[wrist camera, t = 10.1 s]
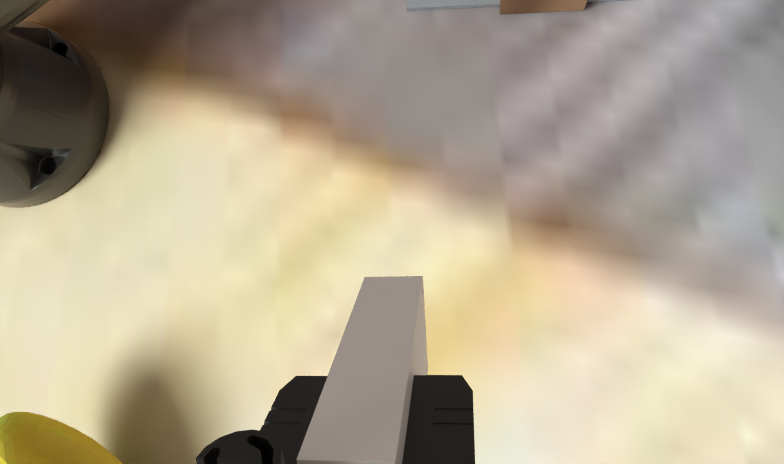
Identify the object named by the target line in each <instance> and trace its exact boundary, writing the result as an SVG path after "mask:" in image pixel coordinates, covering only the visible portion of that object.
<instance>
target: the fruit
mask: <svg viewBox="0 0 784 464" xmlns="http://www.w3.org/2000/svg"><path fill="white" fill-rule="evenodd" d="M0 464H123V463H122V462H121V461H120V460H118V459H117V458H116V457H115V456H114V455H113V454H112V453H111V452H109V451H108V450H107V449H106V448H104V447H103V446H101V445H100V444H99V443H97V442H96V441H95V440H93V439H92V438H90V437H88V436H87V435H85V434H83V433H81V432H80V431H78V430H76V429H74V428H72V427H70V426H68V425H66V424H64V423H61V422H59V421H57V420H54V419H51V418H48V417H45V416H42V415H38V414H34V413H29V412H13V413H9V414H6V415H4V416H2V417H0Z"/></svg>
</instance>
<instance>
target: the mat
mask: <svg viewBox="0 0 784 464" xmlns="http://www.w3.org/2000/svg"><path fill="white" fill-rule="evenodd" d="M600 1H621V0H587V2H600ZM497 6H500V0H407V11H414V10H434V9H455V8H476V7H497Z"/></svg>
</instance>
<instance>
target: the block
mask: <svg viewBox="0 0 784 464" xmlns="http://www.w3.org/2000/svg"><path fill="white" fill-rule="evenodd" d="M586 3H587V0H500V14H516V13H537V12H559V11H580V10H584V8H585V5H586Z"/></svg>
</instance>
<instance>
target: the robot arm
mask: <svg viewBox="0 0 784 464" xmlns="http://www.w3.org/2000/svg"><path fill="white" fill-rule="evenodd" d="M48 1H50V0H0V206H6V207H16V208H18V207H30V206H35V205H38V204H42V203H45V202H47V201H50V200H52V199H54V198H56V197H58V196H59V195H61V194H62V193H64V192H65V191H67V190H68V189H69V188H71V187H72V186H73V185H74V184H75V183H76V182H77V181H78V180H79V179H80V178H81V177H82V176H83V175H84V174H85V173H86V171H87V170H88V169H89V167H90V166H91V164H92V163H93V161H94V159H95V158H96V156H97V154H98V152H99V150H100V147H101V145H102V142H103V139H104V136H105V132H106V128H107V122H108V111H109V109H108V95H107V90H106V86H105V82H104V79H103V77H102V74H101V72H100V70H99V68H98V66H97V65H96V63H95V62H94V60H93V59H92V58H91V57H90V55H89V54H88V53H87V52H86V51H85V50H84V49H83V48H81V47H80V46H79V45H77V44H76V43H74V42H73V41H71V40H70V39H68V38H66V37H65V36H63V35H62V34H60V33H58V32H56V31H55V30H53V29H50V28H48V27H46V26H43V25H40V24H37V23H33V22H28V21H23V20H24V19H25V18H26V17H28V16H29V15H31V14H32V13H33V12H35V11H36V10H37V9H39V8H40V7H42V6H43V5H44V4H46V3H47V2H48ZM427 371H428V363H427V345H426V327H425V309H424V290H423V276H407V277H365V278H364V281H363V283H362V286H361V289H360V291H359V294H358V297H357V299H356V302H355V305H354V307H353V310H352V313H351V315H350V318H349V321H348V323H347V326H346V329H345V331H344V334H343V337H342V339H341V342H340V345H339V347H338V350H337V353H336V355H335V358H334V361H333V363H332V366H331V369H330V371H329V374H328V376H296V377H294V378H293V379H292V380H291V381H290V382H289V383H288V384H286V385H285V386H284V387H283V388H282V389H281V390H280V391H279V393H278V395H277V397H276V399H275V401H274V403H273V405H272V407H271V411H269V413H268V415H267V417H266V419H265V421H264V422H265V423H264V425H263V426H262V428H261V430H260V431H257V430H246V431H237V432H234V433H231V434H228V435H225V436H223V437H220V438H218V439H217V440H215V441H214V442H212V443H211V444H209V445H208V446H206V447H205V448H204V449H203V451H202V452H201V453H200V454H199V455H198V456H197V457H196V461H197V464H475V449H474V418H473V391H472V389H471V388H470V386H469V385H468V383H467V382H466V381H465V379H464V378H463V376H462V375H427Z"/></svg>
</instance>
